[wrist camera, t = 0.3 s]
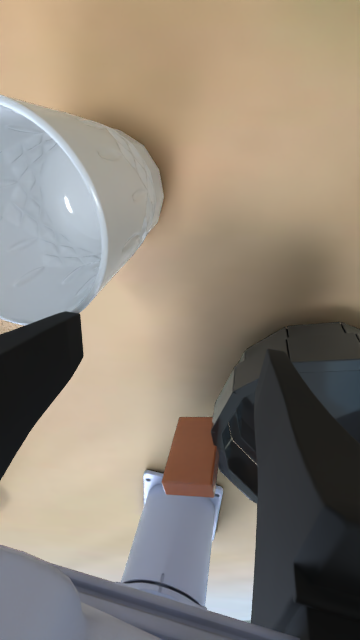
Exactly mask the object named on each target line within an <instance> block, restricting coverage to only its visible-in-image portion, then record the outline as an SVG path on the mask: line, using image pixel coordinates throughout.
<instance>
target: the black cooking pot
mask: <svg viewBox="0 0 360 640" xmlns="http://www.w3.org/2000/svg"><path fill="white" fill-rule="evenodd" d="M267 348H269V349H274V350H279V351H284V352H285V353H286V354H287V356H288V357H289V359H290V360H291V362H292V364H293V365H294V367H295V368H296V370H297V371H298V373H299V374H300V376H301V377H302V378H303V380H304V381H305V383H306V384H307V385H308V387H309V388H310V390H311V391H312V392H313V394H314V395H315V396H316V397H317V399H318V400H319V401H320V402H321V403H322V405H323V406H324V407H325V408H326V409H327V411H328V412H329V413H330V414H331V415H332V416H333V417H334V418H335V420H336V421H337V422H338V423H339V424H340V425H341V426H342V427H343V428H344V429H345V430H346V431H347V432H348V433H349V434H350V435H351V436H352V437H353V438H354V439H355V440H356V441H358V442H359V443H360V329H358V328H355V327H353V326H350V325H348V324H345V323H342V322H341V324H340V323H339V322H333V323H320V324H308V325H295V326H287V328H286V327H284V328H282V329H281V330H279V331H277V332H275V333H274V334H272V335H270V336H268V337H267V338H265V339H263V340H261V341H260V342H258V343H256V344H254V345H253V346H251V347H249V348H247V349H246V351H244V353H243V355H242V357H241V359H240V361H239V363H238V364H237V365H236V366H235V367H234V368H233V370H232V372H231V374H230V376H229V378H228V380H227V382H226V383H225V385H224V387H223V389H222V391H221V393H220V395H219V396H218V398H217V400H216V402H215V406H214V413H213V417H179V420H178V424H177V428H176V431H175V435H174V438H173V442H172V446H171V449H170V453H169V456H168V460H167V464H166V467H165V471H164V475H163V478H162V485H163V488H164V491H165V494H167V495H179V496H194V497H209V498H214V497H215V489H216V480H217V471H218V467H219V470H220V471H221V472H222V473H223V474H224V475H225V476H226V477H227V478H228V479H229V480H230V481H231V482H232V483H233V484H234V485H235V486H236V487H237V488H238V489H239V490H240V491H241V492H243V493H244V494H245V495H246V496H247V497H248V498H249V499H250V500H251V501H253V502H255V503H257V502H258V470H257V465H256V464H257V456H256V441H255V426H254V404H255V391H256V387H257V384H258V380H259V376H260V372H261V369H262V365H263V361H264V358H265V354H266V350H267ZM228 423H229V424H228ZM229 427H230V429H229ZM230 432H231V434H230ZM231 437H232V438H233V440H234V441H235V442H236V443H237V444H238V445H239V446H240V447H241V448H242V449H243V451H244V452H245V453H246V454H247V455H248V456H249V457H250V458H251V459H252V460H253V461H254V462H255V463H256V464H255V463H254V462H253V461H252V460H251V459H250V458H249V457H248V456H247V455H246V454H245V453H244V452H243V451H242V450H241V449H240V448H239V447H238V446H237V445H236V444H235V443H234V442H233V441H232V440H231Z"/></svg>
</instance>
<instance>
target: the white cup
mask: <svg viewBox="0 0 360 640" xmlns="http://www.w3.org/2000/svg"><path fill="white" fill-rule="evenodd" d="M163 200H164V194H163V188H162V182H161V177H160V171H159V168H158V167H157V165H156V164H155V162H154V161H153V159H152V157H151V156H150V154H149V153H148V151H147V150H146V148H145V147H144V145H143V144H141V143H139V142H138V141H136V140H135V139H133V138H132V137H130V136H128V135H127V134H125V133H124V132H122V131H121V130H118V129H114V128H110V127H108V126H105V125H103V124H101V123H98V122H96V121H92V120H89V119H85V118H83V117H80V116H77V115H73V114H70V113H66V112H63V111H59V110H55V109H52V108H48V107H44V106H40V105H37V104H33V103H29V102H26V101H22V100H18V99H15V98H11V97H8V96H4V95H0V319H3V320H5V321H8V322H12V323H16V324H21V325H28V324H31V323H33V322H36V321H38V320H41V319H44V318H46V317H49V316H52V315H55V314H58V313H61V312H64V311H68V312H73V313H80V312H81V311H82V310H83V309H85V308H86V307H87V306H88V305H89V303H90V302H91V301H92V300H93V299H94V298H95V297H96V296H97V294H98V293H99V292H100V291H101V290H102V289H103V288H104V287H105V286H106V284H107V283H108V282H109V281H110V280H111V279H112V278H113V277H114V276H115V275H116V273H117V272H118V271H119V270H120V269H121V268H122V267H123V266H124V265H125V263H126V262H127V261H128V260H129V259H130V258H131V257H132V256H133V255H134V253H135V252H136V251H137V249H138V248H139V247H140V246H141V244H142V243H143V242H144V240H145V237H146V236H147V234H148V233H149V232H150V231H151V230H152V229H153V227H154V226H155V225H156V224H157V223H158V220H159V216H160V212H161V208H162V204H163Z"/></svg>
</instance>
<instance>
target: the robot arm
mask: <svg viewBox="0 0 360 640" xmlns="http://www.w3.org/2000/svg"><path fill="white" fill-rule="evenodd" d="M82 358H83V344H82V332H81V319H80V314H78V313H73V312H68V311H64V312H61V313H58V314H55V315H52V316H49V317H46V318H44V319H41V320H38V321H36V322H33V323H31V324H28V325H25V326H23V327H20V328H18V329H15V330H12V331H9V332H6V333H3V334H1V335H0V480H1V478H2V477H3V475H4V473H5V472H6V470H7V468H8V467H9V465H10V463H11V461H12V460H13V458H14V456H15V455H16V453H17V451H18V450H19V448H20V447H21V445H22V443H23V442H24V440H25V439H26V437H27V435H28V434H29V432H30V431H31V429H32V428H33V427H34V425H35V424H36V422H37V421H38V420H39V418H40V417H41V416H42V415H43V413H44V412H45V411H46V410H47V408H48V407H49V406H50V404H51V403H52V402H53V401H54V399H55V398H56V397H57V396H58V394H59V393H60V392H61V390H62V389H63V388H64V387H65V385H66V384H67V383H68V381H69V380H70V379H71V377H72V376H73V374H74V372H75V371H76V369H77V367H78V366H79V364H80V362H81V360H82ZM254 426H255V441H256V456H257V470H258V502H257V528H256V550H255V568H254V585H253V600H252V615H251V623H247V622H244V621H241V620H237V619H234V618H231V617H228V616H224V615H221V614H218V613H214V612H211V611H208V610H207V608H206V607H205V601H206V592H207V582H208V573H209V564H210V555H211V545H212V541H213V540H214V536H215V531H216V526H217V521H218V516H219V510H220V505H221V500H222V495H223V488H222V487H220V486H217V485H216V489H215V497H214V498H209V497H194V496H179V495H167V494H165V491H164V488H163V485H162V478H163V475H164V474H163V473H159V472H154V471H150V470H147V471H145V472H144V508H143V511H142V514H141V518H140V521H139V524H138V527H137V531H136V534H135V537H134V541H133V544H132V547H131V550H130V554H129V557H128V560H127V563H126V567H125V570H124V573H123V576H122V580H121V583H120V582H116V583H115V582H112V581H108V580H105V579H102V578H98V577H95V576H92V575H88V574H85V573H82V572H78V571H75V570H72V569H68V568H65V567H62V566H58V565H55V564H52V563H49V562H47V561H44V560H42V559H40V558H37V557H35V556H33V555H30V554H28V553H26V552H23V551H20V550H17V549H13V548H10V547H7V546H3V545H0V640H360V443H359V442H358V441H356V440H355V439H354V438H353V437H352V436H351V435H350V434H349V433H348V432H347V431H346V430H345V429H344V428H343V427H342V426H341V425H340V424H339V423H338V422H337V421H336V420H335V418H334V417H333V416H332V415H331V414H330V413H329V412H328V411H327V409H326V408H325V407H324V406H323V405H322V403H321V402H320V401H319V400H318V399H317V397H316V396H315V395H314V394H313V392H312V391H311V390H310V388H309V387H308V385H307V384H306V383H305V381H304V380H303V378H302V377H301V376H300V374H299V373H298V371H297V370H296V368H295V367H294V365H293V364H292V362H291V360H290V359H289V357H288V356H287V354H286V353H285V352H284V351H279V350H274V349H269V348H267V350H266V354H265V358H264V361H263V365H262V369H261V372H260V376H259V380H258V384H257V387H256V391H255V404H254Z"/></svg>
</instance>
